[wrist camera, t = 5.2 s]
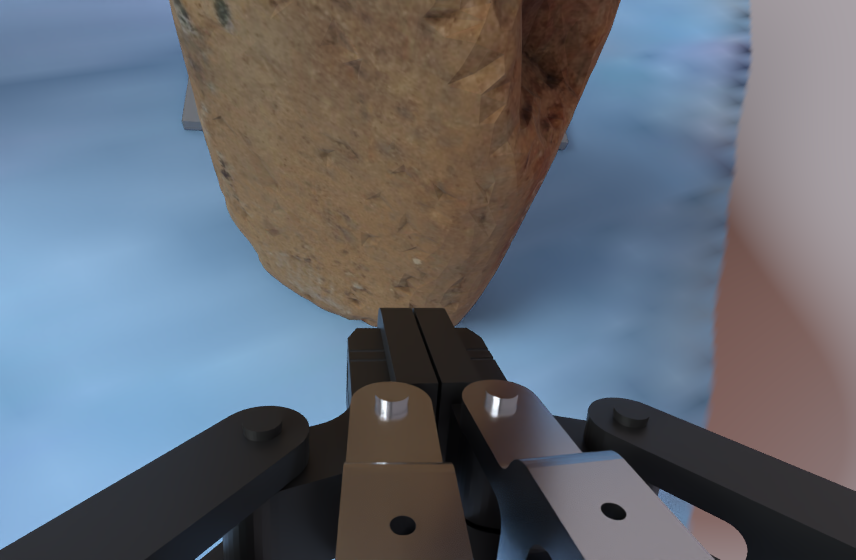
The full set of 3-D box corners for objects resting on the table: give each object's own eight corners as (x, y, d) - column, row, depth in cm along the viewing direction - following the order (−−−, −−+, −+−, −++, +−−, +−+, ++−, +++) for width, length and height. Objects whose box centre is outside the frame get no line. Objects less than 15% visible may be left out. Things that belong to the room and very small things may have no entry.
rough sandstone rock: (222, 255, 25) (-40, -498, 7) (320, 149, 28) (310, -532, 10) (428, 384, 24) (728, -124, 6) (504, 258, 27) (838, -300, 9)
